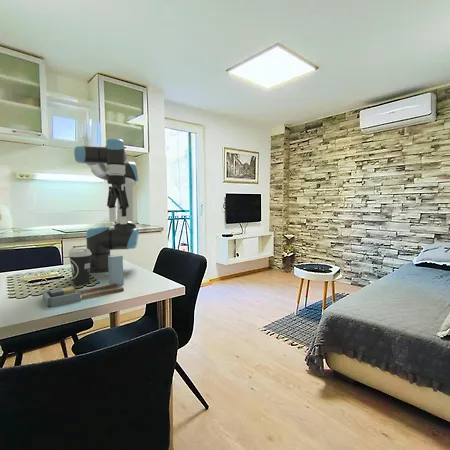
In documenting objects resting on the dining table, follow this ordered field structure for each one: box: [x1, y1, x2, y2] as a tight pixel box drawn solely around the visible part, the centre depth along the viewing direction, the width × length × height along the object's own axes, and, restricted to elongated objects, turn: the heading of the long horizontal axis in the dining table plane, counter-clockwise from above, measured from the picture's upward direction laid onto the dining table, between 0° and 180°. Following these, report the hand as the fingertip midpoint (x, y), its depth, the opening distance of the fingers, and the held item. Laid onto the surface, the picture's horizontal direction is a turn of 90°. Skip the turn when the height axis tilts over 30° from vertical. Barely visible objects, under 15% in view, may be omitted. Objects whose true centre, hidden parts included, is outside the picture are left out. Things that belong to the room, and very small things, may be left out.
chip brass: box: [60, 286, 77, 295], centre depth 113 cm, size 4×4×4 cm
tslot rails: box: [76, 284, 125, 300], centre depth 120 cm, size 8×16×1 cm, turn 131°
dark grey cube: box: [48, 288, 64, 298], centre depth 110 cm, size 4×4×4 cm
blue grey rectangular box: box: [108, 254, 125, 287], centre depth 131 cm, size 4×5×13 cm
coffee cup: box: [68, 248, 92, 286], centre depth 134 cm, size 10×10×15 cm
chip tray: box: [42, 286, 82, 308], centre depth 111 cm, size 11×10×3 cm
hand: (117, 223), depth 132 cm, fingers open, 13 cm apart
